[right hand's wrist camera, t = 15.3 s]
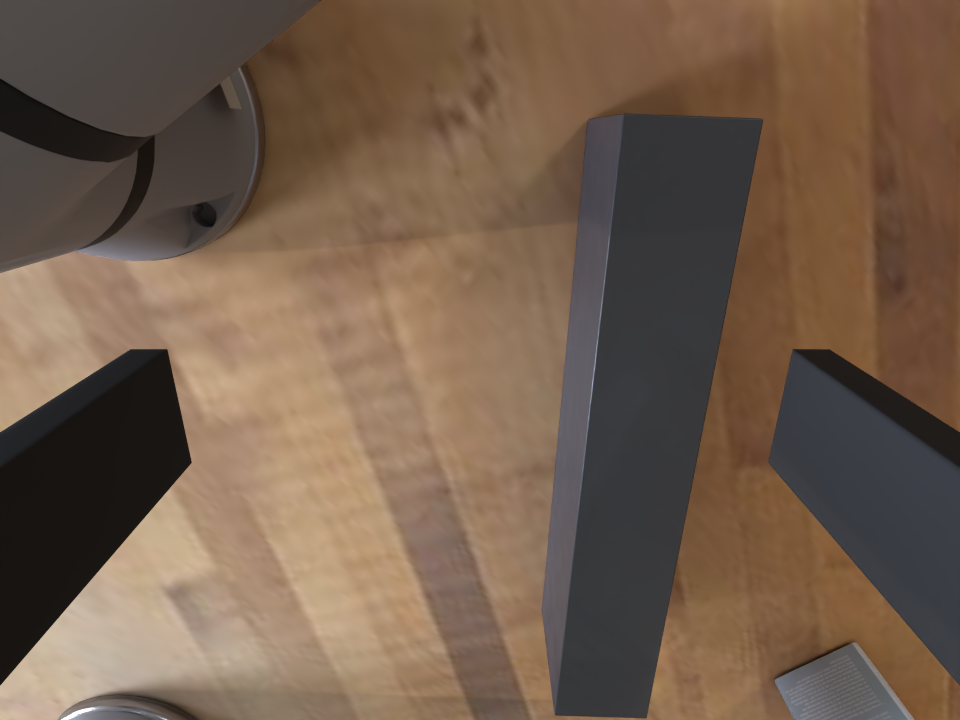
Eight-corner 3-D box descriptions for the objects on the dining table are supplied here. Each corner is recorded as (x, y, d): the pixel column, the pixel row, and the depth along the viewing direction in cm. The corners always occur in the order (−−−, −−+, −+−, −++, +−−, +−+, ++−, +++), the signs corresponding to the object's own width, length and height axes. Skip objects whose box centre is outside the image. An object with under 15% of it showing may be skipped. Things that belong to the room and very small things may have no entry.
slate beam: (541, 609, 46) (554, 716, 38) (587, 119, 33) (623, 113, 25) (617, 612, 46) (646, 718, 38) (692, 122, 33) (764, 118, 25)
